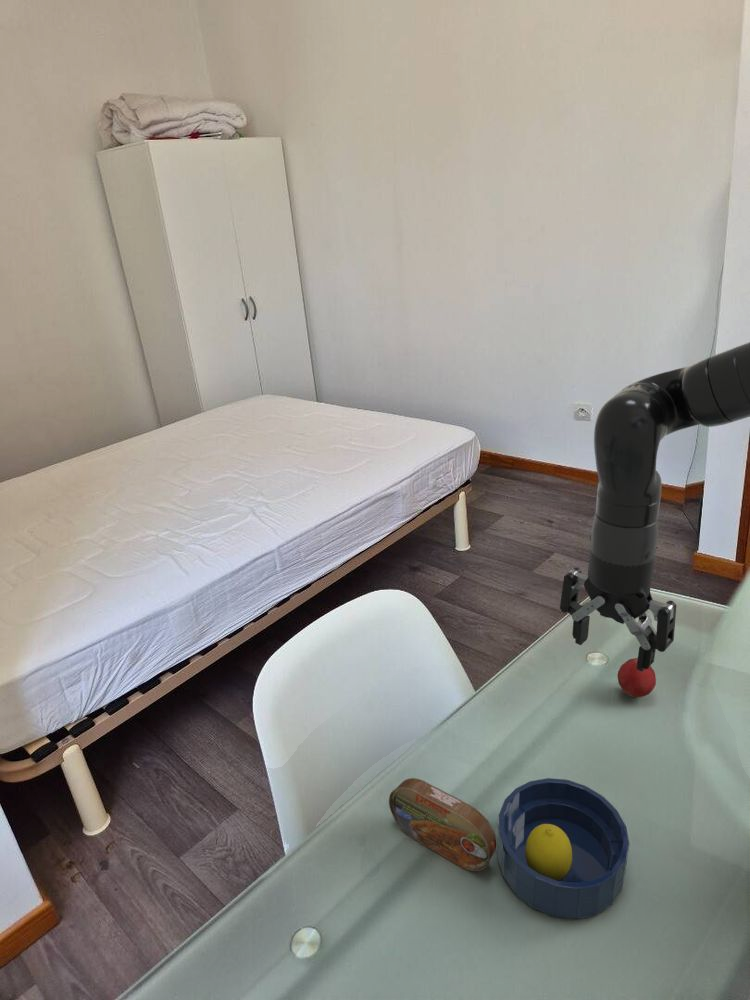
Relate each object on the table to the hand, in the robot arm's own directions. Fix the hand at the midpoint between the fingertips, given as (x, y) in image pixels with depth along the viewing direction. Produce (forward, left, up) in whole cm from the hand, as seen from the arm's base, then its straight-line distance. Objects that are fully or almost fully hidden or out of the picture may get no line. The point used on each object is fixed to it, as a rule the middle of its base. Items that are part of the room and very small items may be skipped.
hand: (610, 654), depth 90 cm
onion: (+3, -18, -21) cm, 28 cm away
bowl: (-4, +16, -21) cm, 27 cm away
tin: (+9, +24, -21) cm, 34 cm away
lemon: (-4, +19, -21) cm, 29 cm away
